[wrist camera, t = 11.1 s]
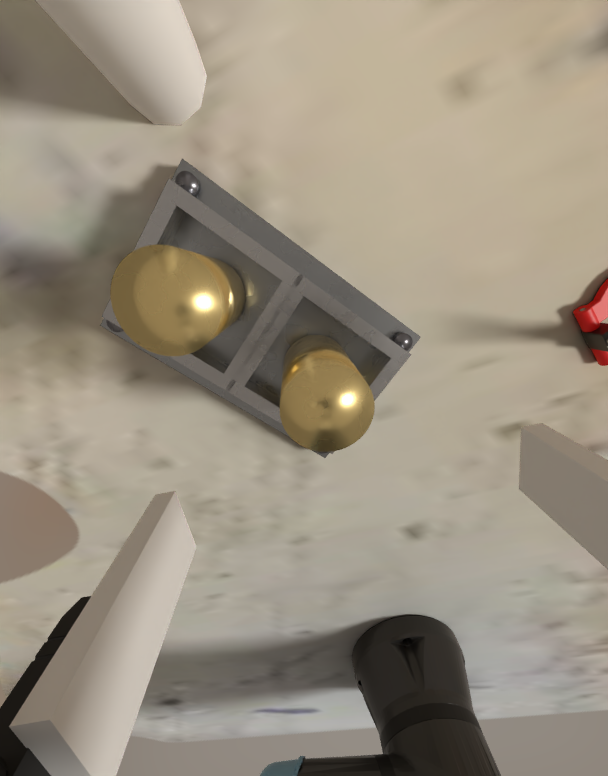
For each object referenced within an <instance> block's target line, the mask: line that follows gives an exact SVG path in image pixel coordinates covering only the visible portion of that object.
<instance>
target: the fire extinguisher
mask: <svg viewBox="0 0 608 776" xmlns="http://www.w3.org/2000/svg"><path fill="white" fill-rule="evenodd" d="M35 1H36V2H37V3H38V4H39V5H40V6H41V7H42V8H43V9H44V11H45V12H46V13H47V14H48V15H49V16H50V17H51V18H52V19H53V20H54V22H55V23H56V24H57V25H58V26H59V27H60V28H61V29H62V30H63V31H64V32H65V34H66V35H67V36H68V37H69V38H70V39H71V40H72V41H73V42H74V43H75V45H76V46H77V47H78V48H79V49H80V50H81V51H82V52H83V53H84V54H85V55H86V57H87V58H88V59H89V60H90V61H91V62H92V63H93V64H94V65H95V66H96V68H97V69H98V70H99V71H100V72H101V73H102V74H103V75H104V76H105V77H106V78H107V80H108V81H109V82H110V83H111V84H112V85H113V86H114V87H115V88H116V89H117V91H118V92H119V93H120V94H121V95H122V96H123V97H124V98H125V99H126V100H127V101H128V103H129V104H130V105H131V106H133V107H134V108H135V109H136V110H137V111H139V112H140V113H141V114H142V115H144V116H145V117H146V118H147V119H149V120H150V121H151V122H152V123H153V124H155V125H182V124H183V123H184V122H185V121H186V120H188V119H189V118H190V117H191V116H192V115H193V114H194V113H195V112H196V111H197V110H199V109H200V108H201V104H202V99H203V94H204V89H205V84H206V78H207V75H206V72H205V69H204V66H203V63H202V60H201V57H200V54H199V51H198V47H197V44H196V42H195V39H194V37H193V34H192V32H191V29H190V27H189V24H188V22H187V19H186V16H185V14H184V11H183V9H182V6H181V4H180V1H179V0H35Z"/></svg>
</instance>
